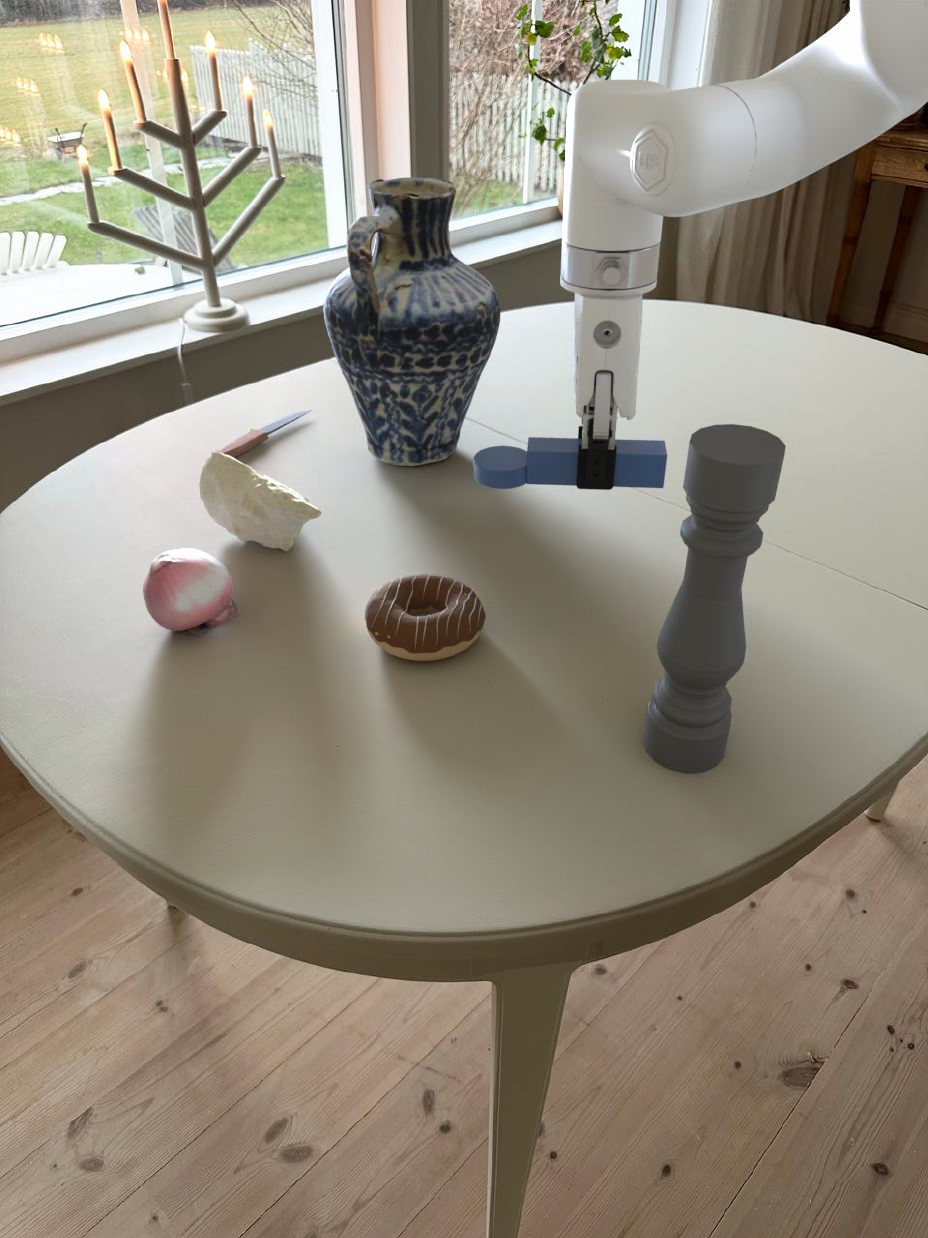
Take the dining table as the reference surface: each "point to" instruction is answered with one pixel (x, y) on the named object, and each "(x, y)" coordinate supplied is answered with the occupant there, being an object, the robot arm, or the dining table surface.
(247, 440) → the knife
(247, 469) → the cheese
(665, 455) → the spoon
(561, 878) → the dining table surface
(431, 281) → the jug
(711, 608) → the candle holder
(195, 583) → the onion
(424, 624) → the donut
